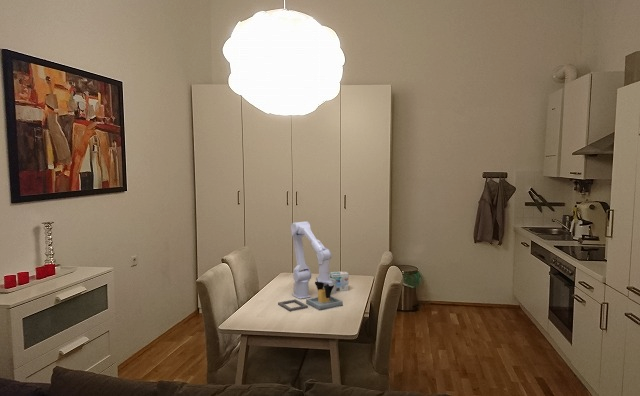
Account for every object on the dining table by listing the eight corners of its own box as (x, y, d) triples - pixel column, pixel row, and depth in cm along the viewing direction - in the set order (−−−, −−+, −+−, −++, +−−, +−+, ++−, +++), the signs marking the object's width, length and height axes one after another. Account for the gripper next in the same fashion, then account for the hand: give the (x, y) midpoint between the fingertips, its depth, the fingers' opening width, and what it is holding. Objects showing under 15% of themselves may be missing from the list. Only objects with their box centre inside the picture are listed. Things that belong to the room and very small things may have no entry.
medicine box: (330, 291, 273) (330, 277, 272) (335, 293, 270) (335, 279, 269) (321, 294, 266) (321, 280, 266) (327, 296, 264) (327, 281, 263)
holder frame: (278, 304, 248) (278, 302, 248) (295, 301, 254) (295, 299, 254) (289, 311, 236) (289, 309, 236) (307, 307, 242) (307, 305, 242)
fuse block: (318, 303, 247) (318, 289, 247) (325, 301, 250) (325, 288, 250) (321, 304, 244) (321, 291, 244) (329, 303, 247) (329, 289, 247)
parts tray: (306, 303, 249) (306, 299, 249) (328, 299, 257) (328, 295, 257) (319, 310, 238) (319, 305, 237) (342, 305, 245) (342, 301, 245)
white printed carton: (332, 292, 272) (332, 274, 271) (329, 289, 279) (329, 272, 278) (349, 290, 275) (349, 273, 274) (345, 287, 281) (345, 270, 281)
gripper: (311, 270, 250) (311, 293, 251) (325, 275, 238) (325, 300, 239) (321, 268, 254) (321, 291, 255) (336, 273, 242) (336, 298, 243)
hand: (324, 295), depth 247 cm, fingers open, 7 cm apart
